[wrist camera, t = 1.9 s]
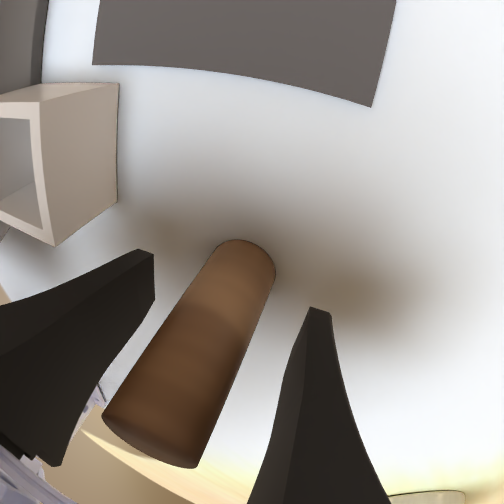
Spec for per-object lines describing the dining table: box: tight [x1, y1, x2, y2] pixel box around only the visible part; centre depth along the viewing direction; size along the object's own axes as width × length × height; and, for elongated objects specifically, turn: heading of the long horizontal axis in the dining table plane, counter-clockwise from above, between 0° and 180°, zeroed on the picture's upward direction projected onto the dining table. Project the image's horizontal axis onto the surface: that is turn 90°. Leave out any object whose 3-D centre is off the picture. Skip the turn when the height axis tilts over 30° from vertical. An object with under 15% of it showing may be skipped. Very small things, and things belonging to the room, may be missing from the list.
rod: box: [102, 240, 275, 469], centre depth 9 cm, size 2×2×7 cm
